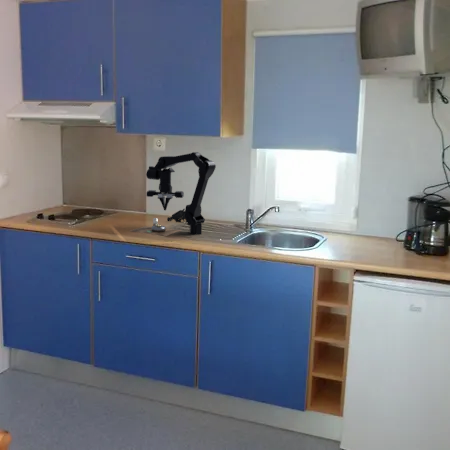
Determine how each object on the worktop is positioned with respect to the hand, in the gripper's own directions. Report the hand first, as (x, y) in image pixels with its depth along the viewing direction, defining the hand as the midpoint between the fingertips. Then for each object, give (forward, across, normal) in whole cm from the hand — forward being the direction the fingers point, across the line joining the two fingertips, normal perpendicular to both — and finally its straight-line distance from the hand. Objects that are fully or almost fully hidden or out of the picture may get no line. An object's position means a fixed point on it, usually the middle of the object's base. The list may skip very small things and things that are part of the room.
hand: (165, 210), depth 283 cm
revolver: (+12, -7, -23) cm, 26 cm away
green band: (+11, +6, +9) cm, 16 cm away
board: (+11, +4, +6) cm, 13 cm away
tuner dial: (+10, +3, +5) cm, 11 cm away
